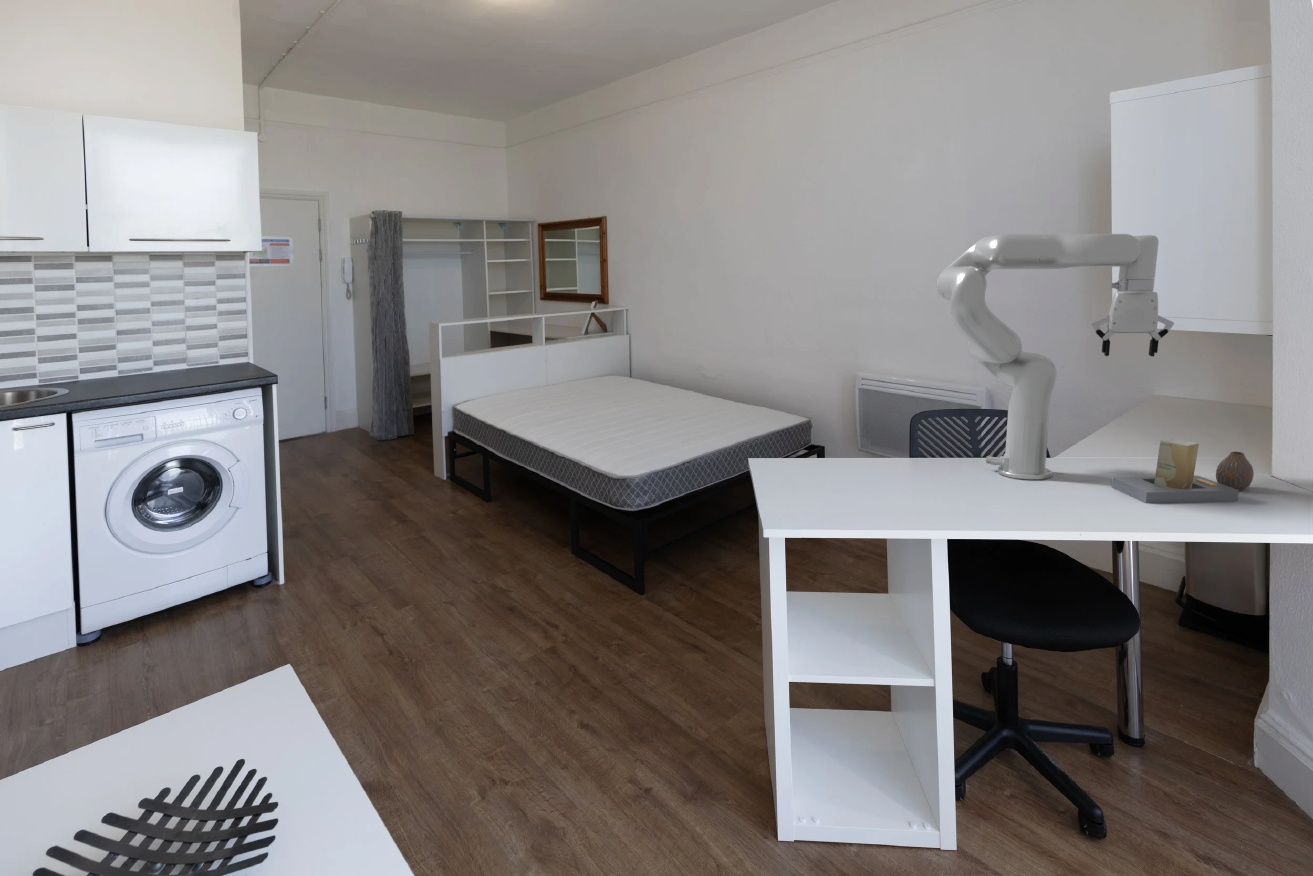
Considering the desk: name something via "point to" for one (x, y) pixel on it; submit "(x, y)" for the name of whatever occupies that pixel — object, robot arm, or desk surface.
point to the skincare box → (1176, 464)
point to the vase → (1235, 471)
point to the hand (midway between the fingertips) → (1128, 355)
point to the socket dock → (1174, 490)
